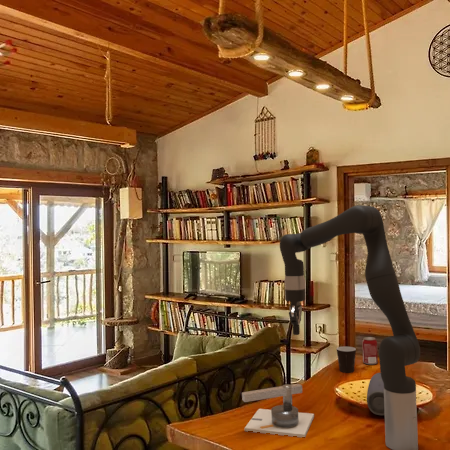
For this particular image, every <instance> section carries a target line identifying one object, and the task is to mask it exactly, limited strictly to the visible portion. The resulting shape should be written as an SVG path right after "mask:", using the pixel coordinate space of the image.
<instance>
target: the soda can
mask: <svg viewBox="0 0 450 450" xmlns="http://www.w3.org/2000/svg"><path fill="white" fill-rule="evenodd" d="M361 344H362V345H361V346H362V363H364V364H366V365H368V366H369V365H370V366H373V365H377V364H379V362H378V361H379V360H378V359H379V355H378V341H377V339H376V337H373V336H365V337H363V340H362V343H361Z"/></svg>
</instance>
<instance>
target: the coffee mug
mask: <svg viewBox="0 0 450 450" xmlns="http://www.w3.org/2000/svg"><path fill="white" fill-rule="evenodd" d="M356 352H357V349H356V347H353V346H338V347H336V355H337V362H338V369H339V371H340V373H344V374H351V373H354V372H355V364H356Z"/></svg>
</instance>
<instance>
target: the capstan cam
mask: <svg viewBox="0 0 450 450" xmlns="http://www.w3.org/2000/svg"><path fill="white" fill-rule="evenodd" d="M302 393H303V385H302V384H300V383H293V384H289V383H286V384H283V385H280V386H274V387H268V388H261V389H257V390H250V391H243V392H241V398H242V399H241V400H242V401H243V402H244V403H249V402H253V401H259V400H267V399H272V398H278V397H279V398H280V397H282V402H283V403H282V404H279V405H276V406H273V407H271V409H270V410H271V416H272V423H273V424H274V425H276V426H280V427H291V426H295V425H297V424H298V423H299V418H298V412H299V408H298V407H296V406H295V405H293V395H296V394H302Z"/></svg>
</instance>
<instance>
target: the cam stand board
mask: <svg viewBox="0 0 450 450" xmlns="http://www.w3.org/2000/svg"><path fill="white" fill-rule="evenodd" d="M298 418H299V423H298V424H297V425H295V426H291V427H280V426H276V425H274V424H273V423H272V416H271V409H267V408H266V409H264V408H258V409H257V411H256V412H255V413H254V415H253V416H252V418H251V419H250V420H249V422H247V424H246V426H245V427H244V432H248V431H253V432H252V433H257V432H260V433H259V434H266V433H270V434H269V435H275V434H278V436H284V435H288V436H287V437H293V436H297V437H296V438H302V437H305V438H306V436H307V435H308V432H309V429H310V427H311V425H312V422H313V420H314V418H315V413H311V412H310V413H309V412H299V411H298Z"/></svg>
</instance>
